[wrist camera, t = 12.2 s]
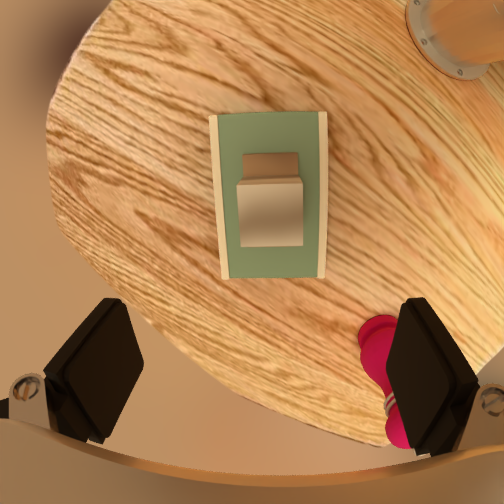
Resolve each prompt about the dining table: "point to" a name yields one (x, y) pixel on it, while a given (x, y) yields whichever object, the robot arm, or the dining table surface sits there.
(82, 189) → the dining table surface
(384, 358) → the pepper mill
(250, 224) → the butter dish
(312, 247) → the dock
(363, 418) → the dining table surface
